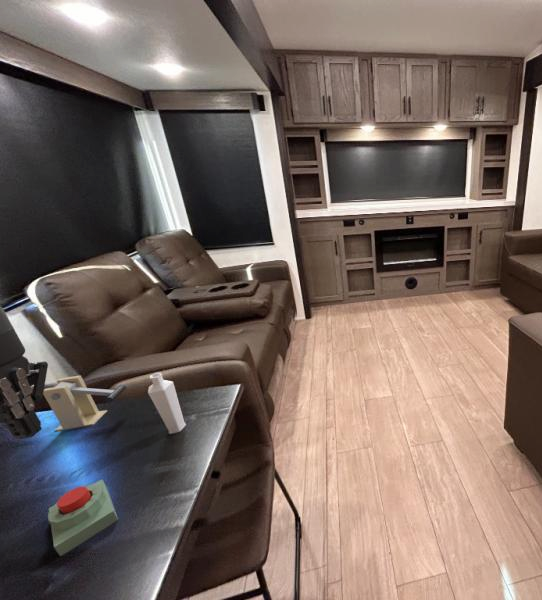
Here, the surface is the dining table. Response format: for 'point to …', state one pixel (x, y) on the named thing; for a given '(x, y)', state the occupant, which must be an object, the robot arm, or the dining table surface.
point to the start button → (74, 500)
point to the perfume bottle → (166, 403)
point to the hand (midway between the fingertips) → (30, 434)
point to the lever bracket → (72, 405)
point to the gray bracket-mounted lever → (94, 390)
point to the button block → (82, 519)
